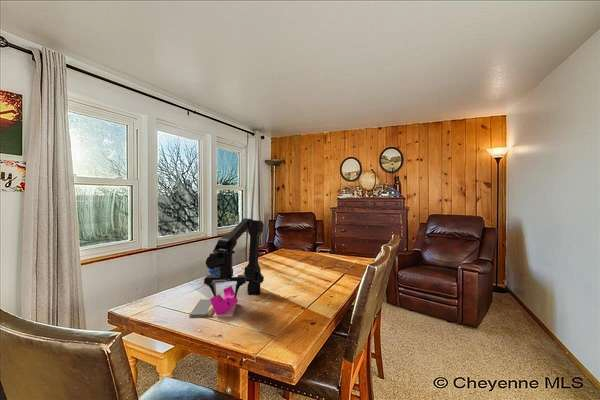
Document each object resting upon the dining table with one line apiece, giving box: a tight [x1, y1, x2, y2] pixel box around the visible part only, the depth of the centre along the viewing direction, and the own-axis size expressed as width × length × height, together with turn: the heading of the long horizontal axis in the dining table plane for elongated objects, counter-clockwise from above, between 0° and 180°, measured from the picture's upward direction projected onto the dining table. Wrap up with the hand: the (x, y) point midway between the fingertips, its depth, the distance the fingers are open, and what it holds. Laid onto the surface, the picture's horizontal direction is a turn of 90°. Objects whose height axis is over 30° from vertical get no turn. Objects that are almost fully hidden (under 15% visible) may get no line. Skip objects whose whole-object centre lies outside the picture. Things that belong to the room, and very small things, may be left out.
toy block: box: [209, 285, 239, 315], centre depth 131 cm, size 15×6×8 cm, turn 169°
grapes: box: [207, 267, 220, 277], centre depth 177 cm, size 12×7×12 cm, turn 145°
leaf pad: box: [211, 303, 237, 318], centre depth 132 cm, size 8×17×1 cm, turn 5°
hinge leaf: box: [188, 298, 215, 318], centre depth 132 cm, size 9×18×2 cm, turn 5°
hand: (225, 297), depth 132 cm, fingers open, 9 cm apart
